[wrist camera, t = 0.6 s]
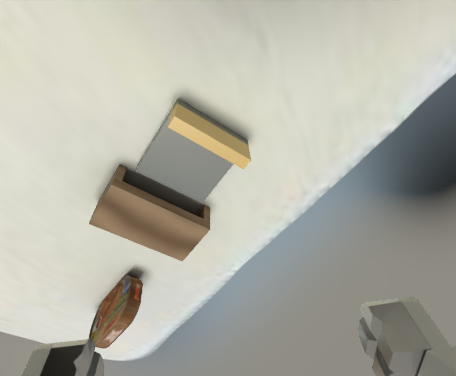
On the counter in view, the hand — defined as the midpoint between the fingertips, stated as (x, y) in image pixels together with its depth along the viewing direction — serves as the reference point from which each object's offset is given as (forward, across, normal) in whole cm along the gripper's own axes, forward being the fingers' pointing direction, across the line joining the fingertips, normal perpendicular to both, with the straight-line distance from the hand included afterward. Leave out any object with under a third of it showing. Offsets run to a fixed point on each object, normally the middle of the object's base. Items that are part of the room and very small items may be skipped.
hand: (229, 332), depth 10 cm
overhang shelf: (+34, +10, +17) cm, 39 cm away
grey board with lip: (+33, +3, +9) cm, 35 cm away
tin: (+36, +20, +36) cm, 55 cm away
